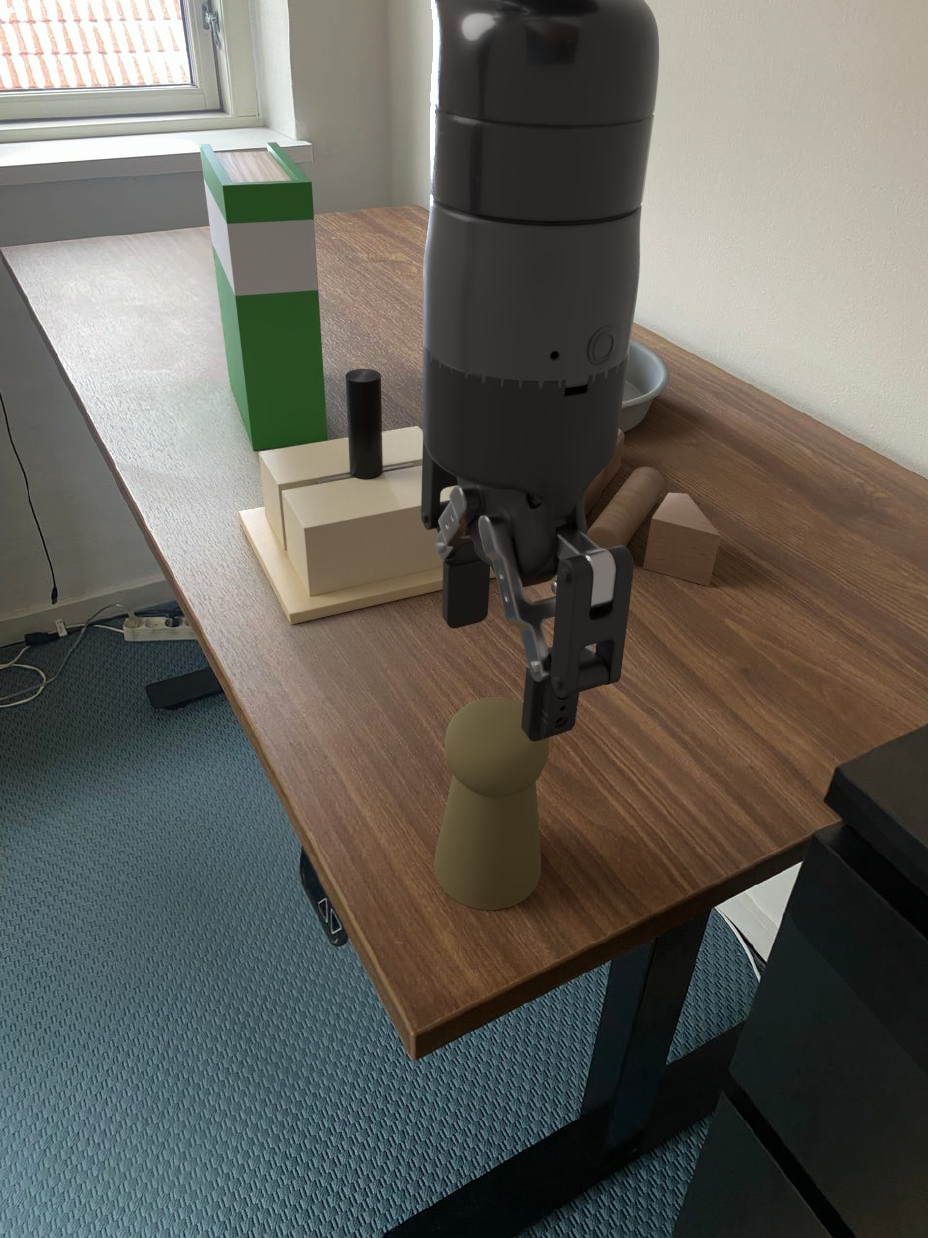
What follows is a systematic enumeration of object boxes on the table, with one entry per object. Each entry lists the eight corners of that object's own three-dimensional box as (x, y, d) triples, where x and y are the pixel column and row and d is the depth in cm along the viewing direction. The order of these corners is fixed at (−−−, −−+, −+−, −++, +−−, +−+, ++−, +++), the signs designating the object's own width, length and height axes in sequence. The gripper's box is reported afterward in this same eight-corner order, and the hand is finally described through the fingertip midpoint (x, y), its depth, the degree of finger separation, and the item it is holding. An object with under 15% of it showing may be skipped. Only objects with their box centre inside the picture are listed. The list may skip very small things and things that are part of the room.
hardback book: (229, 381, 104) (199, 144, 89) (295, 374, 106) (276, 142, 91) (253, 450, 90) (222, 185, 76) (327, 441, 92) (311, 181, 78)
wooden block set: (514, 479, 76) (590, 401, 89) (510, 538, 79) (583, 455, 92) (719, 532, 70) (767, 440, 83) (705, 593, 73) (754, 496, 86)
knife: (326, 554, 74) (316, 389, 66) (317, 538, 76) (305, 375, 68) (419, 535, 77) (420, 374, 69) (407, 520, 79) (407, 361, 71)
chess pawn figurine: (420, 896, 50) (421, 750, 43) (448, 812, 54) (453, 669, 48) (531, 921, 49) (549, 776, 42) (550, 834, 53) (569, 691, 47)
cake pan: (606, 473, 89) (612, 430, 86) (396, 410, 99) (396, 370, 96) (696, 390, 106) (703, 352, 103) (509, 343, 116) (511, 307, 113)
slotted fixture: (290, 625, 68) (282, 544, 64) (238, 521, 80) (229, 447, 76) (508, 574, 75) (513, 498, 70) (430, 484, 86) (431, 414, 82)
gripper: (362, 284, 37) (374, 608, 47) (526, 429, 27) (498, 804, 37) (526, 265, 40) (506, 576, 50) (733, 391, 30) (656, 751, 39)
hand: (503, 673), depth 43 cm, fingers open, 8 cm apart
